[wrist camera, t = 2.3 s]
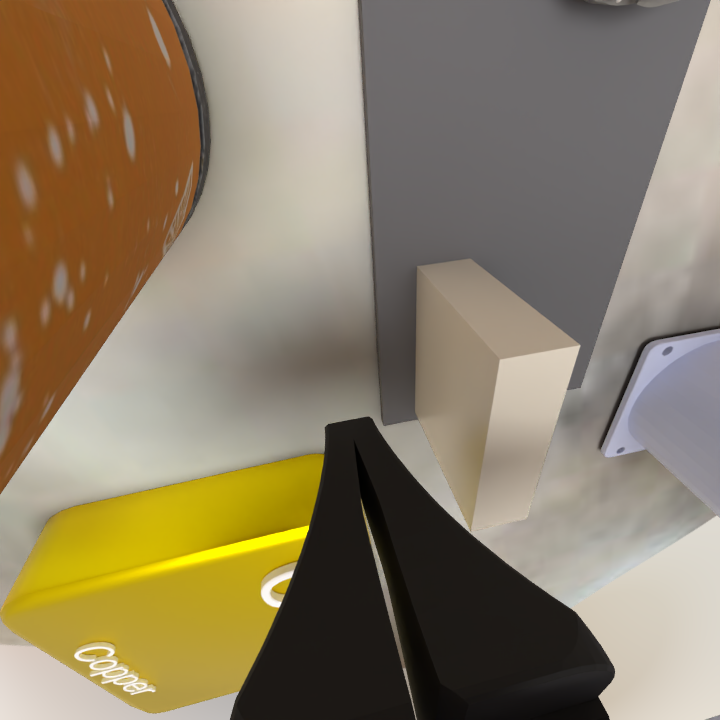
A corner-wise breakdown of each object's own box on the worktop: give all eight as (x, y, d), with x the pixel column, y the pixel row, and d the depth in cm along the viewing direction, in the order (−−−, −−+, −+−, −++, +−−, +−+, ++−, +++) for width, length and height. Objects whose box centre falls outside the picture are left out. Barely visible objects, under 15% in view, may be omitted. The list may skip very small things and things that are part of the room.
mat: (797, -307, 8) (819, -325, 8) (575, 382, 19) (580, 387, 19) (339, -326, 7) (343, -347, 7) (381, 419, 18) (383, 425, 18)
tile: (474, 257, 14) (586, 344, 9) (459, 403, 18) (530, 517, 13) (416, 266, 13) (500, 359, 9) (414, 411, 17) (470, 531, 13)
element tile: (28, 509, 17) (-42, 627, 13) (348, 438, 19) (369, 526, 15) (161, 636, 26) (142, 731, 22) (373, 581, 28) (390, 660, 24)
